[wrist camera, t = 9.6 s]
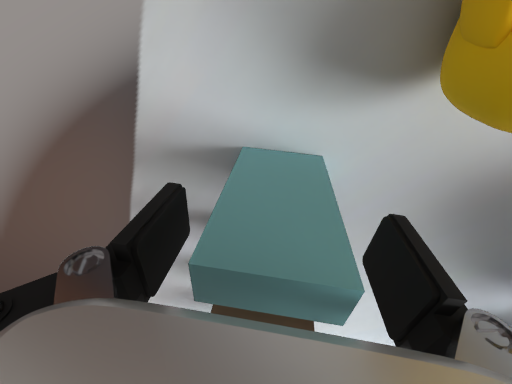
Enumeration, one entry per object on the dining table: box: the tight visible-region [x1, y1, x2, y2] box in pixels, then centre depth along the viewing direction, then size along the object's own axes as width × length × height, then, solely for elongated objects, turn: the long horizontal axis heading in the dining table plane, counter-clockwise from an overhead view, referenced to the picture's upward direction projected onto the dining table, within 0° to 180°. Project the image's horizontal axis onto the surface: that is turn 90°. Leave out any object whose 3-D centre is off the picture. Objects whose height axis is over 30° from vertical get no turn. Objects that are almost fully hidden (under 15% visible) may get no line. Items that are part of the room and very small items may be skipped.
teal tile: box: [188, 147, 365, 326], centre depth 10 cm, size 2×5×9 cm, turn 86°
